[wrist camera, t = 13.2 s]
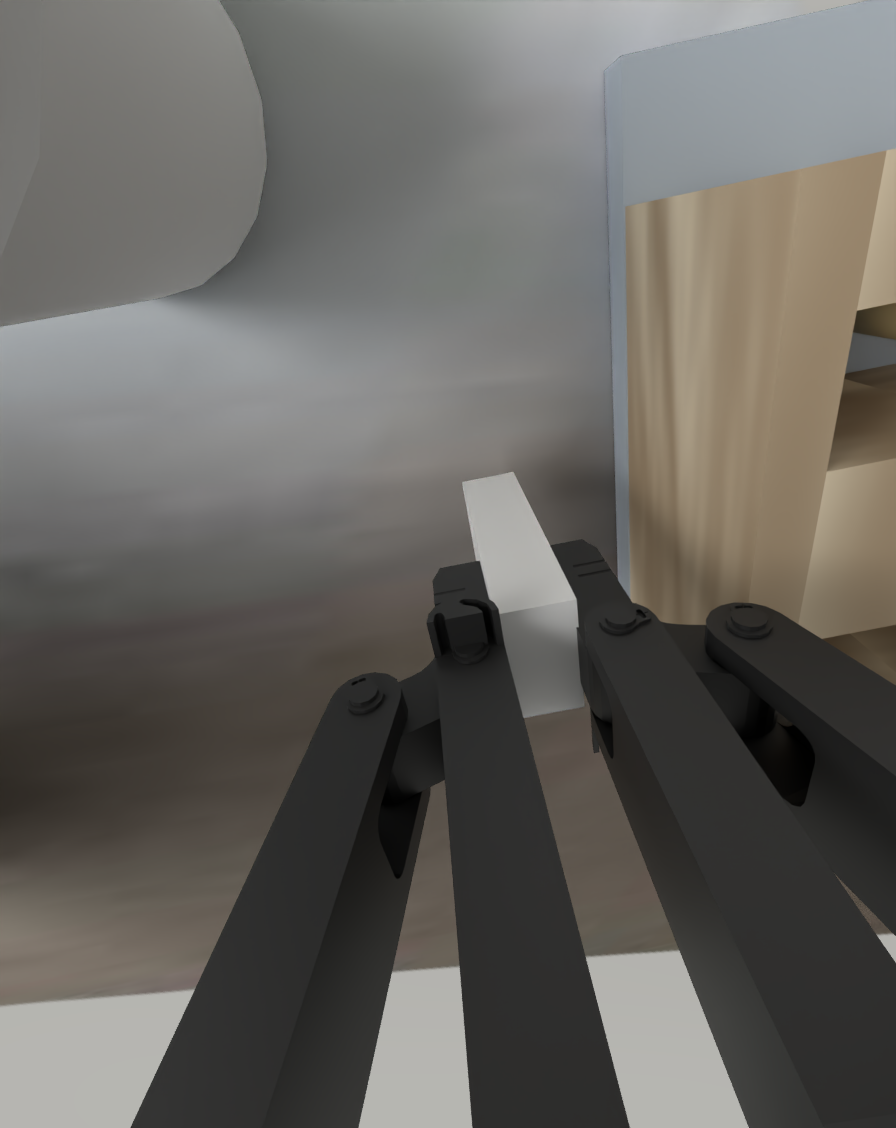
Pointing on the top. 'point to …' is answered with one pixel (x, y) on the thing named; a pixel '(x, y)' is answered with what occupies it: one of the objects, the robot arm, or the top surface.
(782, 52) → the panel
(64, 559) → the top surface
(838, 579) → the wooden cubby shelf
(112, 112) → the can
